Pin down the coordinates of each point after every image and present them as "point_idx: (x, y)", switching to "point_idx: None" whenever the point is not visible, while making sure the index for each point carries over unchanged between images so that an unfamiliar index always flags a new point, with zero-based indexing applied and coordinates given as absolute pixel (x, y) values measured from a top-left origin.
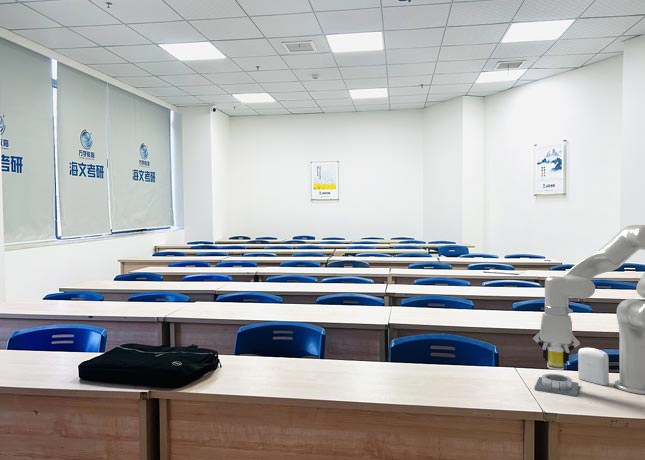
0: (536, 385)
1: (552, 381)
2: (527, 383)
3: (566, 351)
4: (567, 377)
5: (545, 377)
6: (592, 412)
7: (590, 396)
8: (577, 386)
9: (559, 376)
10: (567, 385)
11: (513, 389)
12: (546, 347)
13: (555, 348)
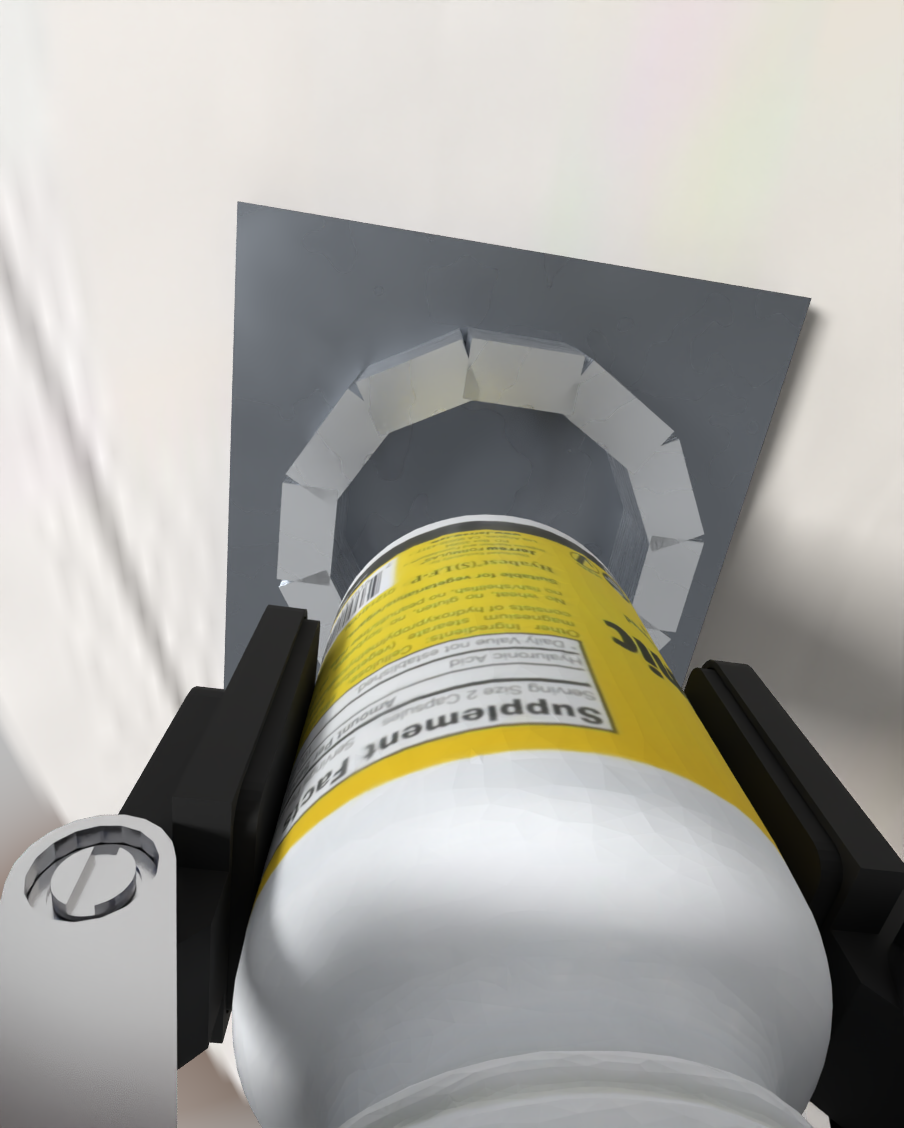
0: (238, 636)
1: None
2: (119, 466)
3: (835, 1102)
4: (657, 474)
5: (328, 599)
6: None
7: (804, 676)
8: (744, 494)
9: (544, 409)
10: None
11: (22, 738)
12: (179, 1019)
13: None
